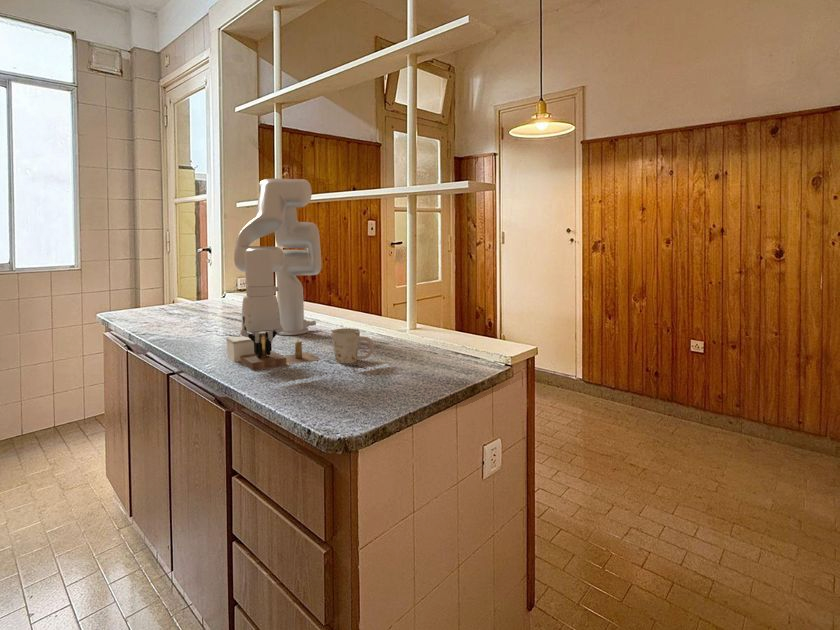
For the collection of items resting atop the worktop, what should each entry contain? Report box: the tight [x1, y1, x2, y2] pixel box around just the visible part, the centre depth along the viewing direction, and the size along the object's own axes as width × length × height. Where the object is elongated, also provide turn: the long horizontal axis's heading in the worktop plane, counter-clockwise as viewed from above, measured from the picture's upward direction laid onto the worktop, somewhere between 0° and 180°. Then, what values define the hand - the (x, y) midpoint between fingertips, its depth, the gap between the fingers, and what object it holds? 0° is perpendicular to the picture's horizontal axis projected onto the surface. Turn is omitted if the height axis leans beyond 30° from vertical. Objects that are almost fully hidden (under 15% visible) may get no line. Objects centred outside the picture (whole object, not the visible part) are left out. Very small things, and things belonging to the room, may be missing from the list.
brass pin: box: [259, 332, 267, 359], centre depth 149 cm, size 2×2×8 cm
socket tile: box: [239, 350, 288, 371], centre depth 150 cm, size 10×10×3 cm
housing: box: [226, 335, 255, 363], centre depth 156 cm, size 6×6×7 cm
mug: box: [330, 328, 375, 364], centre depth 154 cm, size 8×13×10 cm, turn 95°
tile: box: [283, 340, 321, 365], centre depth 156 cm, size 10×10×6 cm
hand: (263, 354), depth 150 cm, fingers closed on brass pin, 2 cm apart
